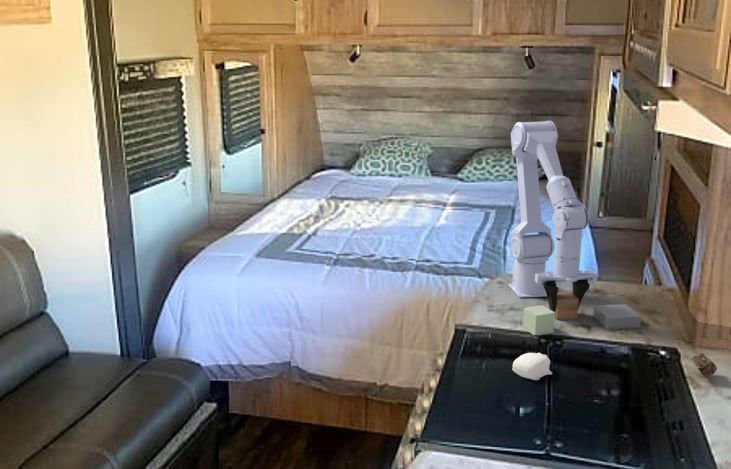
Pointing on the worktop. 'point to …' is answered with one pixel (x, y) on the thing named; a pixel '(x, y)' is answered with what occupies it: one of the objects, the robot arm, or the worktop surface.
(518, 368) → the white frog figurine
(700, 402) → the worktop surface
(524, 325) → the sage cube
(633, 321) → the slate tile
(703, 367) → the rock
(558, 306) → the walnut cube
